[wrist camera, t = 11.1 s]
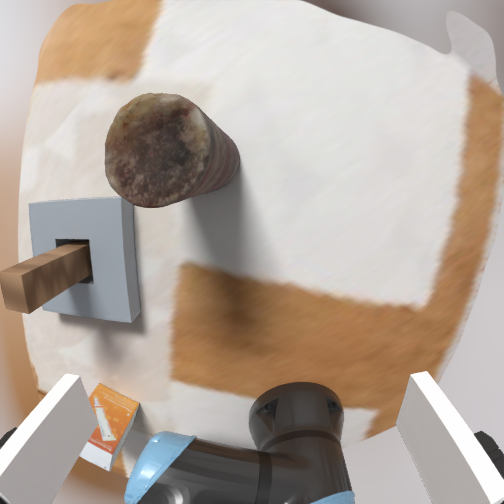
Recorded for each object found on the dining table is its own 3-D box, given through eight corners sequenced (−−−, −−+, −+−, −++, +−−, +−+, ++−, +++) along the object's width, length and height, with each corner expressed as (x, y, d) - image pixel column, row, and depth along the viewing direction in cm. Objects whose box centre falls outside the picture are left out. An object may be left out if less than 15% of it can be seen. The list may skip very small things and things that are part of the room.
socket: (140, 312, 40) (131, 322, 36) (55, 301, 40) (43, 310, 37) (132, 195, 36) (121, 197, 33) (43, 201, 37) (28, 203, 33)
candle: (219, 204, 36) (169, 231, 17) (168, 174, 35) (76, 174, 16) (251, 149, 34) (239, 112, 15) (199, 121, 34) (134, 63, 14)
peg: (99, 269, 39) (29, 313, 23) (77, 267, 39) (5, 308, 23) (97, 241, 38) (21, 275, 22) (74, 240, 38) (-2, 272, 22)
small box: (140, 402, 44) (113, 455, 31) (134, 422, 45) (110, 472, 33) (98, 381, 44) (64, 428, 31) (95, 402, 45) (65, 448, 32)
